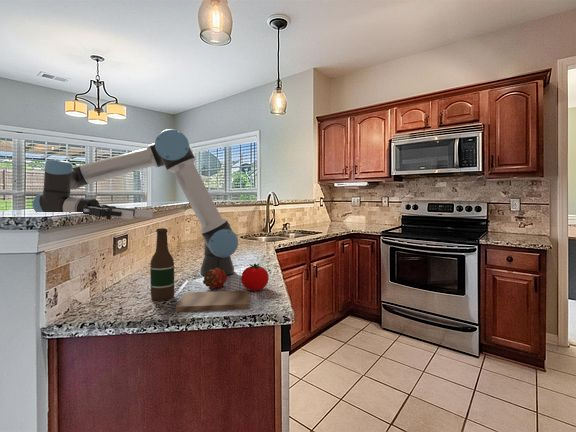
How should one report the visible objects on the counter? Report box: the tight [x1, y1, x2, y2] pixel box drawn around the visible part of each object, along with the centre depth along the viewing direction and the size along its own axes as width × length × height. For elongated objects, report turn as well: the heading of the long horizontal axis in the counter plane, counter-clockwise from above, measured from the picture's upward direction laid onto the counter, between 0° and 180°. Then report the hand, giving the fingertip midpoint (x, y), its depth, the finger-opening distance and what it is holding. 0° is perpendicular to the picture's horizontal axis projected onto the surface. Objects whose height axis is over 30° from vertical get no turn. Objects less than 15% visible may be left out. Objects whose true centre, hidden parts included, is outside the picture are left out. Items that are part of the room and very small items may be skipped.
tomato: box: [240, 262, 270, 292], centre depth 115 cm, size 10×10×10 cm
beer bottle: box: [149, 227, 175, 302], centre depth 104 cm, size 8×8×24 cm
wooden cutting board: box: [175, 289, 250, 313], centre depth 101 cm, size 22×14×2 cm, turn 99°
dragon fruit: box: [202, 268, 228, 291], centre depth 117 cm, size 8×8×12 cm
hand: (143, 214), depth 104 cm, fingers open, 13 cm apart
